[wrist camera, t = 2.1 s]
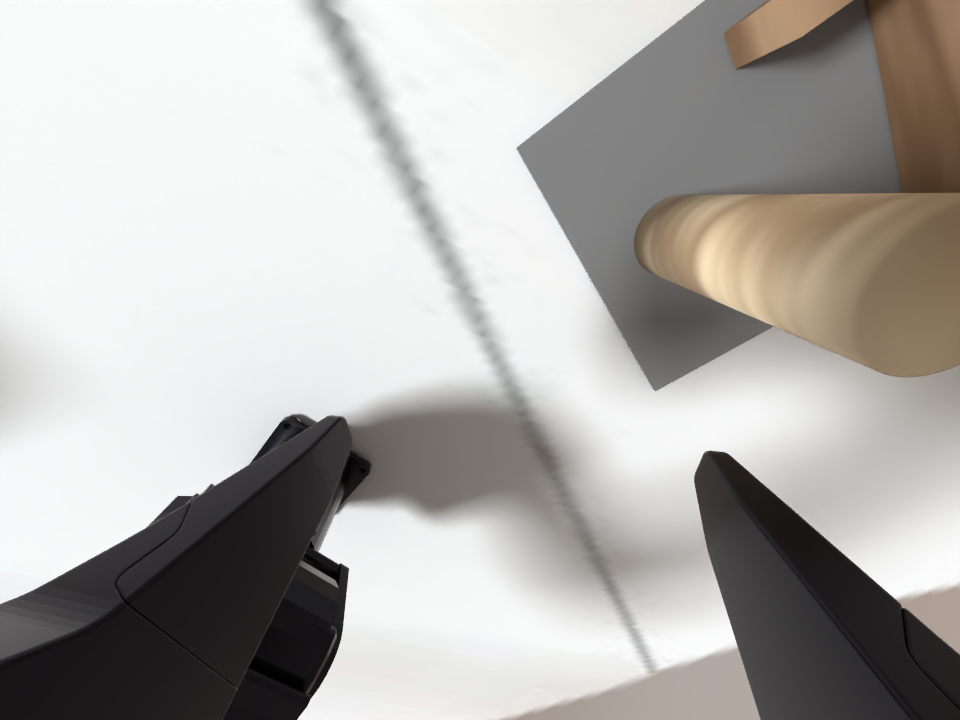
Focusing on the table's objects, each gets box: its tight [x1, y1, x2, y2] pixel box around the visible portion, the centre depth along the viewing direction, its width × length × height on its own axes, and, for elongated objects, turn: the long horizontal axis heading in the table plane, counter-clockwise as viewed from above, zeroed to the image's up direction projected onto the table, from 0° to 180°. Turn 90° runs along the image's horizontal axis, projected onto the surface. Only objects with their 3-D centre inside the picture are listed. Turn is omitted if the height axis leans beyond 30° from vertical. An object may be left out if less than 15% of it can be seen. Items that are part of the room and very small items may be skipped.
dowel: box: [634, 193, 960, 377], centre depth 13 cm, size 4×4×12 cm
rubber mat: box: [516, 0, 903, 391], centre depth 17 cm, size 23×16×1 cm
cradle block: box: [724, 0, 960, 193], centre depth 14 cm, size 7×13×5 cm, turn 35°
